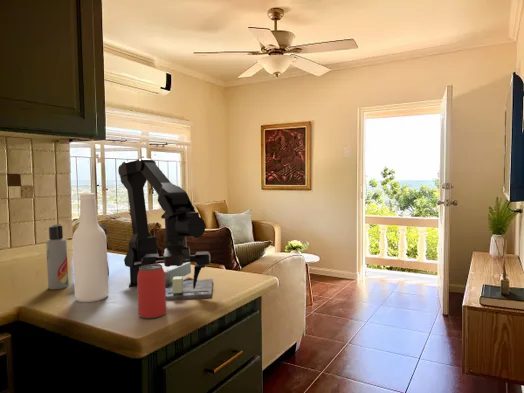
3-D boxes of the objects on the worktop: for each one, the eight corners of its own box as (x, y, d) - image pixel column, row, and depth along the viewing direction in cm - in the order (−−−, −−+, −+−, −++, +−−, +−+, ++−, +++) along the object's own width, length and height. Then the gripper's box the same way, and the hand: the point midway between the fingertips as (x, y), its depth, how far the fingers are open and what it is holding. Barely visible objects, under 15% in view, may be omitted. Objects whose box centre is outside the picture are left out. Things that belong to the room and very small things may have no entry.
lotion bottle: (72, 285, 122) (69, 223, 121) (57, 290, 116) (54, 226, 116) (59, 284, 124) (56, 223, 123) (44, 289, 118) (40, 225, 117)
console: (156, 300, 104) (156, 296, 104) (165, 284, 120) (165, 281, 120) (211, 297, 105) (211, 293, 105) (212, 282, 121) (212, 278, 121)
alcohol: (67, 301, 105) (62, 194, 104) (92, 292, 113) (87, 192, 112) (92, 304, 102) (87, 193, 101) (115, 294, 110) (111, 192, 109)
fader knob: (172, 293, 106) (172, 279, 105) (174, 290, 109) (173, 276, 108) (181, 293, 106) (181, 278, 106) (183, 289, 109) (182, 275, 109)
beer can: (142, 310, 96) (140, 264, 95) (168, 309, 96) (166, 263, 96) (135, 320, 89) (133, 270, 89) (163, 318, 90) (162, 269, 89)
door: (167, 284, 115) (167, 272, 115) (162, 283, 116) (162, 271, 116) (191, 273, 128) (191, 262, 128) (187, 273, 129) (186, 262, 129)
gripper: (135, 240, 97) (137, 300, 98) (207, 237, 99) (209, 296, 100) (144, 234, 109) (146, 288, 109) (209, 232, 110) (211, 284, 111)
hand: (177, 289), depth 107 cm, fingers open, 9 cm apart
